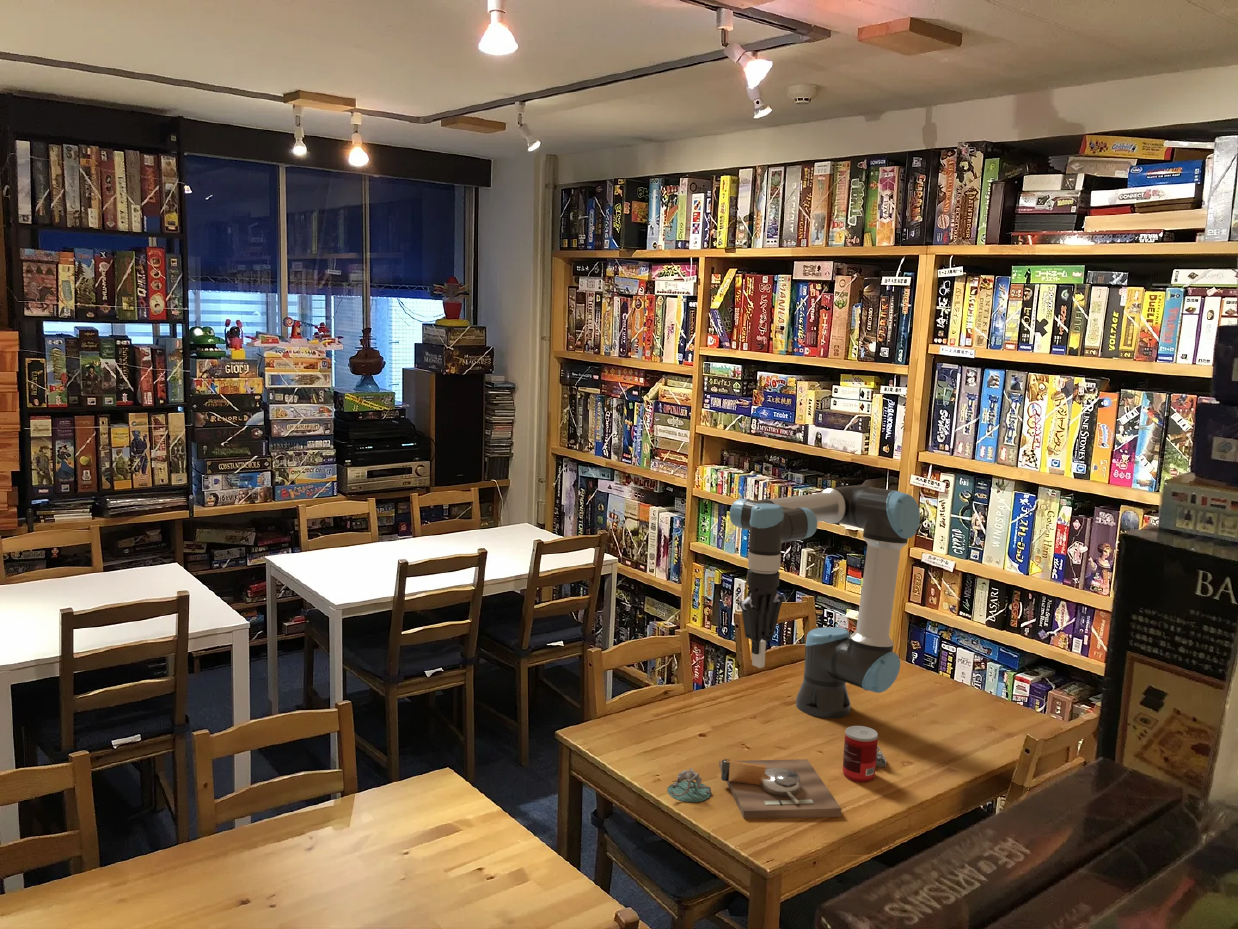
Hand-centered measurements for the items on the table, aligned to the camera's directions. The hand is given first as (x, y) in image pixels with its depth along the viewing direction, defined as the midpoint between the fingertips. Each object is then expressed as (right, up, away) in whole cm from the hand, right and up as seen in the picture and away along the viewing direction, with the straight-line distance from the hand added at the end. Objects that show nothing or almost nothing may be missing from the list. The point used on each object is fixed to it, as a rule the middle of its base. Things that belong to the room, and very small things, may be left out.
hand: (758, 665), depth 227 cm
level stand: (+3, -28, -7) cm, 29 cm away
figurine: (-18, -28, -9) cm, 34 cm away
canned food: (+25, -27, +3) cm, 37 cm away
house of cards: (+28, -27, +8) cm, 40 cm away
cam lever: (-1, -26, -9) cm, 28 cm away
